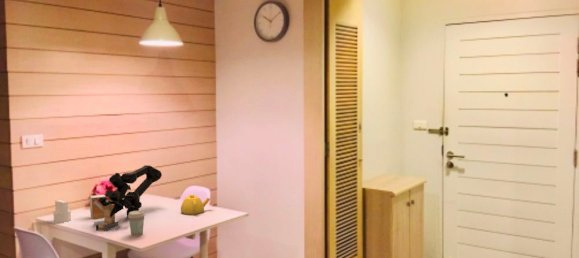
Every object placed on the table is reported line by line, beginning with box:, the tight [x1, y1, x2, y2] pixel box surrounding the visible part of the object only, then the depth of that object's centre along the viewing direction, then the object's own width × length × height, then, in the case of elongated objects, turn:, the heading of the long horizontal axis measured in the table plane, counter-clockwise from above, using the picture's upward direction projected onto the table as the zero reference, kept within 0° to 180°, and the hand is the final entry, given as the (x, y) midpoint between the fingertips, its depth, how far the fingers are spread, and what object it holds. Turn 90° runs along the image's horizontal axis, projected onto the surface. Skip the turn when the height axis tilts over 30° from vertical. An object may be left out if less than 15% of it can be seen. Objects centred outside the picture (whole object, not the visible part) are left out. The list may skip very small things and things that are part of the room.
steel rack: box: [95, 220, 120, 232], centre depth 260 cm, size 11×6×2 cm, turn 160°
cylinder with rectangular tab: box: [53, 199, 72, 224], centre depth 273 cm, size 9×9×12 cm
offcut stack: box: [97, 223, 107, 232], centre depth 257 cm, size 4×3×4 cm
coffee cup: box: [127, 210, 146, 237], centre depth 248 cm, size 9×9×12 cm
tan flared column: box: [103, 204, 116, 225], centre depth 262 cm, size 4×4×12 cm
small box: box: [89, 194, 107, 220], centre depth 281 cm, size 8×6×13 cm
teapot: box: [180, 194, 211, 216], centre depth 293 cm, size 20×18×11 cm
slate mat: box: [93, 220, 104, 227], centre depth 269 cm, size 7×7×1 cm
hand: (107, 216), depth 260 cm, fingers closed on tan flared column, 3 cm apart
